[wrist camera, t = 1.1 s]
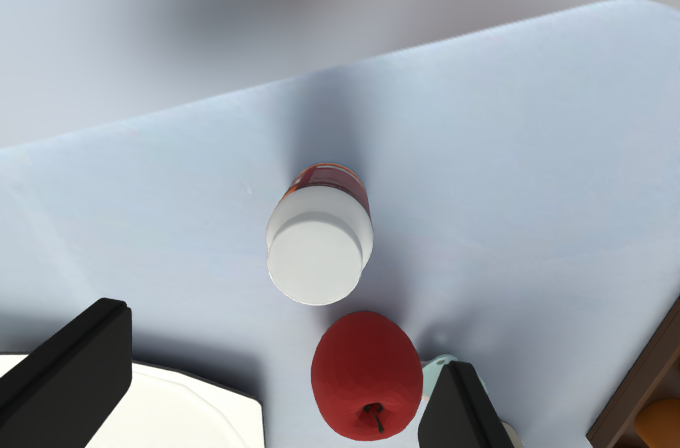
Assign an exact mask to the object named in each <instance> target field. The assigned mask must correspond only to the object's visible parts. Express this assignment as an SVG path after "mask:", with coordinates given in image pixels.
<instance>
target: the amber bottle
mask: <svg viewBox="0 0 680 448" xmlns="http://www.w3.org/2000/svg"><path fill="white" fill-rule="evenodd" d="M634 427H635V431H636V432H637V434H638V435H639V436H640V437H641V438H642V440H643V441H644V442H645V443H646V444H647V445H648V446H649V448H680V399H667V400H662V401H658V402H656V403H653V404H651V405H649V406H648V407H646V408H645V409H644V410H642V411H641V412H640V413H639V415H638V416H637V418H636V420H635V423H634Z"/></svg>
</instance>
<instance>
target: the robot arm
mask: <svg viewBox="0 0 680 448" xmlns="http://www.w3.org/2000/svg"><path fill="white" fill-rule="evenodd" d="M131 382H132V311H131V308H129V307H127V304H126V302H124V301H120V300H115V299H109V298H101V299H99V300H97V301H96V302H95V303H94V304H92V305H91V306H90V307H89V308H87V309H86V310H85V311H84V312H82V313H81V314H80V315H78V316H77V317H76V318H75V319H73V320H72V321H71V322H70V323H68V324H67V325H66V326H65V327H63V328H62V329H61V330H60V331H58V332H57V333H56V334H55V335H53V336H52V337H51V338H49V339H48V340H47V341H46V342H44V343H43V344H42V345H41V346H39V347H38V348H37V349H36V350H34V351H33V352H32V353H31V354H29V355H28V356H27V357H26V358H24V359H23V360H22V361H20V362H19V363H18V364H17V365H15V366H14V367H13V368H12V369H10V370H9V371H8V372H7V373H5V374H4V375H3V376H2V377H0V448H85V447H86V446H87V444H88V443H89V442H90V440H91V439H92V438H93V436H94V435H95V434H96V432H97V431H98V430H99V428H100V427H101V426H102V424H103V423H104V422H105V420H106V419H107V418H108V416H109V415H110V414H111V413H112V411H113V410H114V409H115V407H116V406H117V405H118V403H119V402H120V401H121V399H122V398H123V397H124V395H125V394H126V393H127V391H128V389H129V387H130V385H131ZM418 441H419V446H420V448H515V447H514V445H513V443H512V441H511V439H510V437H509V435H508V433H507V431H506V429H505V427H504V425H503V424H502V422H501V420H500V419H499V418H498V416H497V414H496V412H495V409H494V407H493V405H492V403H491V401H490V399H489V397H488V395H487V393H486V391H485V389H484V387H483V385H482V383H481V381H480V379H479V377H478V375H477V373H476V371H475V369H474V367H473V366H472V364H470V363H466V362H460V361H455V360H451V361H450V362H449V363H448V364H444V365H443V367H442V369H441V372H440V374H439V377H438V379H437V382H436V384H435V387H434V389H433V392H432V394H431V397H430V399H429V402H428V404H427V407H426V409H425V412H424V414H423V417H422V419H421V422H420V424H419V427H418Z"/></svg>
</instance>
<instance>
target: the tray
mask: <svg viewBox="0 0 680 448" xmlns="http://www.w3.org/2000/svg"><path fill="white" fill-rule="evenodd" d="M679 361H680V297H679V298H678V300H677V301H676V303H675V304H674V306H673V307H672V309H671V310H670V312H669V313H668V315H667V316H666V318H665V319H664V321H663V322H662V324H661V325H660V327H659V328H658V330H657V331H656V333H655V334H654V336H653V337H652V339H651V340H650V342H649V343H648V345H647V346H646V348H645V349H644V351H643V352H642V354H641V355H640V357H639V358H638V360H637V361H636V363H635V364H634V366H633V367H632V369H631V370H630V372H629V373H628V375H627V376H626V378H625V379H624V381H623V382H622V384H621V385H620V387H619V388H618V390H617V391H616V393H615V394H614V396H613V397H612V399H611V400H610V401H609V403H608V404H607V406H606V407H605V409H604V410H603V412H602V413H601V415H600V416H599V418H598V419H597V421H596V422H595V424H594V425H593V427H592V428H591V430H590V431H589V433H588V434H587V436H586V438H587V439H588V441H589V442H590V444H591V445H592V446H593V448H649V446H648V445H647V444H646V443H645V442H644V441H643V440H642V438H641V437H640V436H639V435H638V434H637V432H636V431H635V427H634V423H635V420H636V418H637V416H638V415H639V413H640V412H641V411H642V410H644V409H645V408H646V407H648V406H649V405H651V404H653V403H656V402H658V401H662V400H667V399H680V368H679Z"/></svg>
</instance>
